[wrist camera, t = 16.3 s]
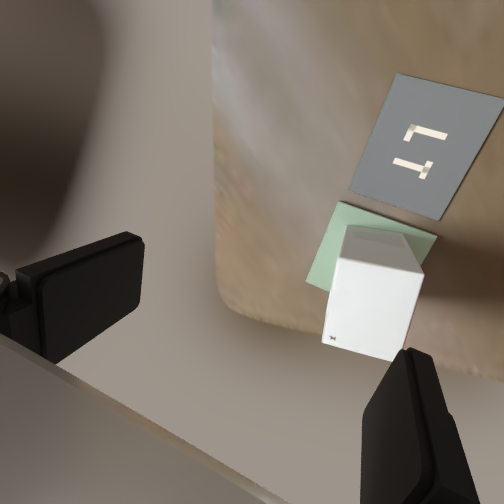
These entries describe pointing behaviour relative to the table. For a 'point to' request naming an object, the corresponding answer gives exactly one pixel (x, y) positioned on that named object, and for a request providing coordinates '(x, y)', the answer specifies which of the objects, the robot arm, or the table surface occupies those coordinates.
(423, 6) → the table surface
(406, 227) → the sage board
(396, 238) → the small box
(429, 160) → the slate tile
